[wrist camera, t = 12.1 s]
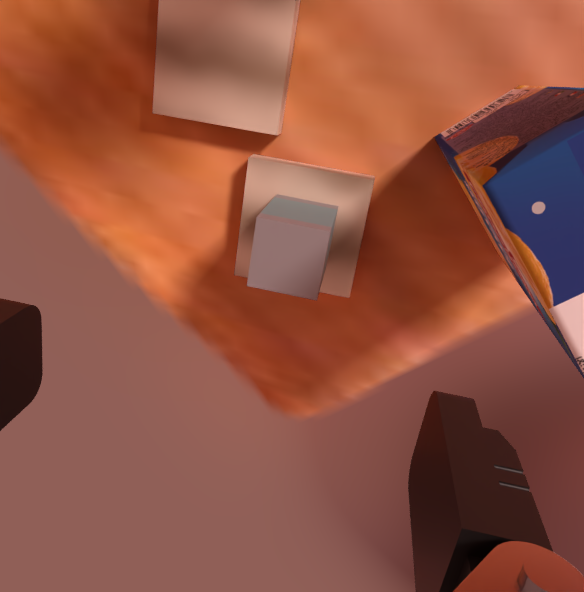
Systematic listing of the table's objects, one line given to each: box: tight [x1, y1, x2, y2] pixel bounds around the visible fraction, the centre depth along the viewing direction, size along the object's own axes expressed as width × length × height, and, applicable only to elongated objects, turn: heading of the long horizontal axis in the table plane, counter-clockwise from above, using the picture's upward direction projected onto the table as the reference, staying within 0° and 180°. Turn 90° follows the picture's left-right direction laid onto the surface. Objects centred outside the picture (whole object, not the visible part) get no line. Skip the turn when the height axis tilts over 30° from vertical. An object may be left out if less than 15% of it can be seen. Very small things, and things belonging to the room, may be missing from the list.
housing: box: [247, 194, 338, 301], centre depth 41 cm, size 5×5×8 cm
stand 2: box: [234, 154, 375, 298], centre depth 46 cm, size 10×10×2 cm
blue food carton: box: [434, 86, 584, 378], centre depth 33 cm, size 7×11×22 cm, turn 33°
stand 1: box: [152, 0, 300, 135], centre depth 42 cm, size 10×10×2 cm
